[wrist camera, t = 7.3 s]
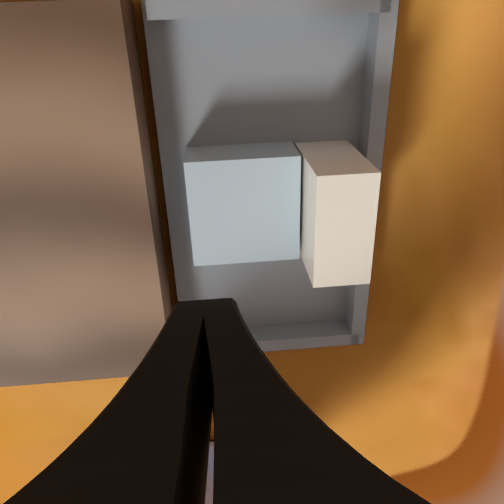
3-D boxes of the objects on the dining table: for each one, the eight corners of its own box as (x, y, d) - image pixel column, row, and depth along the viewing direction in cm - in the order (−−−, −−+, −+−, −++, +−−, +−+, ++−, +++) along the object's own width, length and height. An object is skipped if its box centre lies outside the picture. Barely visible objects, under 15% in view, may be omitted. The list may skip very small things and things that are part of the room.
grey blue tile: (290, 236, 20) (299, 258, 18) (194, 242, 19) (193, 266, 18) (291, 141, 18) (301, 155, 16) (185, 147, 17) (183, 162, 16)
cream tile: (293, 237, 20) (340, 234, 20) (313, 287, 16) (369, 283, 16) (294, 142, 18) (346, 139, 18) (316, 176, 14) (381, 172, 14)
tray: (353, 322, 23) (363, 344, 21) (183, 336, 22) (181, 358, 21) (383, -8, 16) (400, -10, 15) (142, -1, 16) (136, -2, 14)
